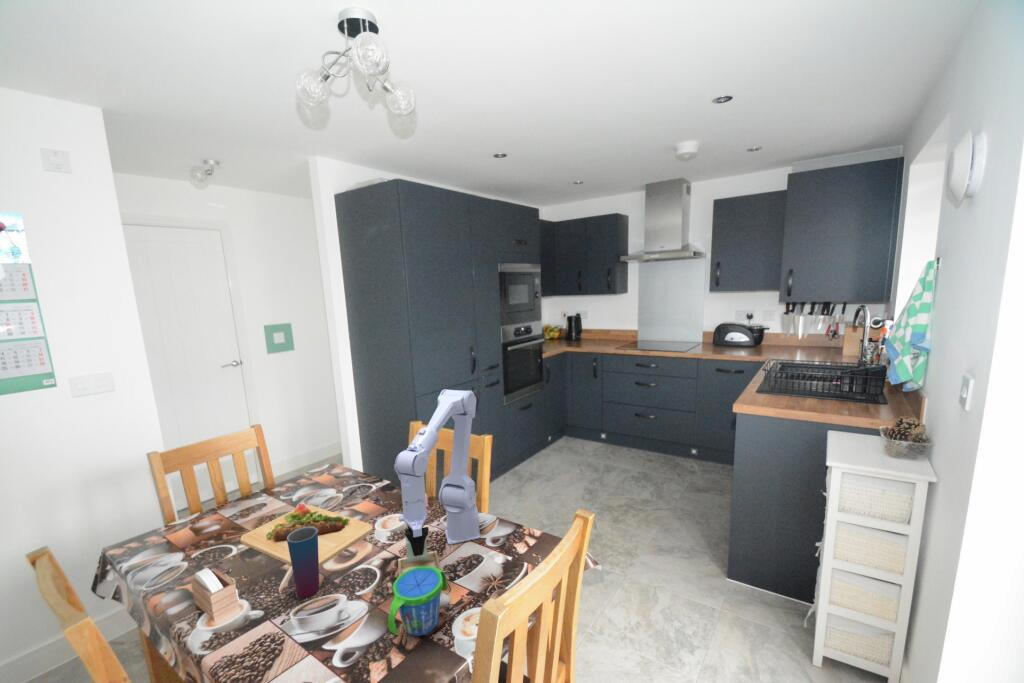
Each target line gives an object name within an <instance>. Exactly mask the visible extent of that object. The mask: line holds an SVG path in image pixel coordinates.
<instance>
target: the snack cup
mask: <svg viewBox="0 0 1024 683" xmlns="http://www.w3.org/2000/svg"><path fill="white" fill-rule="evenodd" d="M440 569H441V568H440ZM440 569H437V568H432V567H427V566H422V567H416V568H412V569H410V570H407V571H406V572H404V573H402V574H401V575H400V576H399V575H398V577H397V578H396V580H394V582H393V586H392V592H393V597H394V598H393V600H392V602H391V604H390V607H389V610H388V619H387V627H388V630H389V632H391V633H392V634H394V635H398V633H399V632H398V629H397V624H396V616H397V614H398V612H399V615H400V620H401V623H402V626H403V629H404V631H405V632H406V634H407V635H409V636H414V637H419V636H420V637H421V636H426V635H428V634H429V633H430V632H432V631H433V629H434V628H435V627H436V626H437V625H438V622H439V618H440V607H441V605H440V604H441V595H442V594H441V593H442V592H441V591H443V592H444V591H445V592H446V591H447V590H448V588H449V587H448V586H449V584H448V579H447V576H446V573H445V571H444V570H442V569H441V570H440Z"/></svg>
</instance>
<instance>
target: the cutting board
mask: <svg viewBox="0 0 1024 683" xmlns="http://www.w3.org/2000/svg"><path fill="white" fill-rule="evenodd" d="M303 527H316V528H317V529H318V558H319V568H320V567H322V566H323V565H324V564H326V563H328V562H329V561H330V560H332V559H334V558H335V557H337V556H339V555H340V554H341V553H342V552H344V551H346V550H347V549H348V548H350V547H352V546H353V545H355V544H356V543H358V542H360V540H361V541H362V539H364V538H365V537H367V536H368V535H369V534H371V533H373V532H374V528H373V524H372V523H368V522H366V521H362V520H359V519H355V518H352V517H349V516H346V515H342V514H340V513H337V512H333V511H331V510H328V509H324V508H321V507H318V506H316V505H311V504H304V503H299V504H298V506H297V507H296V508H294V509H292V510H290V511H288V512H286V513H285V514H283V515H282V514H281V515H280V516H278V517H276V518H273V520H270V521H269V522H267V523H264V524H263V525H261V526H259V527H258V526H257V528H254V529H253V530H251V531H248V532H247V533H244V534H243V535H241V537H240V539H239V540H240V544H241V543H242V545H244V546H246V547H248V548H251V549H252V550H255V551H257V552H260V553H262V554H264V555H266V556H269V557H271V558H272V559H275V560H277V561H280V562H282V563H283V564H287V565H289V566H290V567H292V564H291V559H290V553H289V548H288V543H287V536H288V535H289V534H290V533H291V532H293V531H295V530H297V529H299V528H303Z"/></svg>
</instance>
